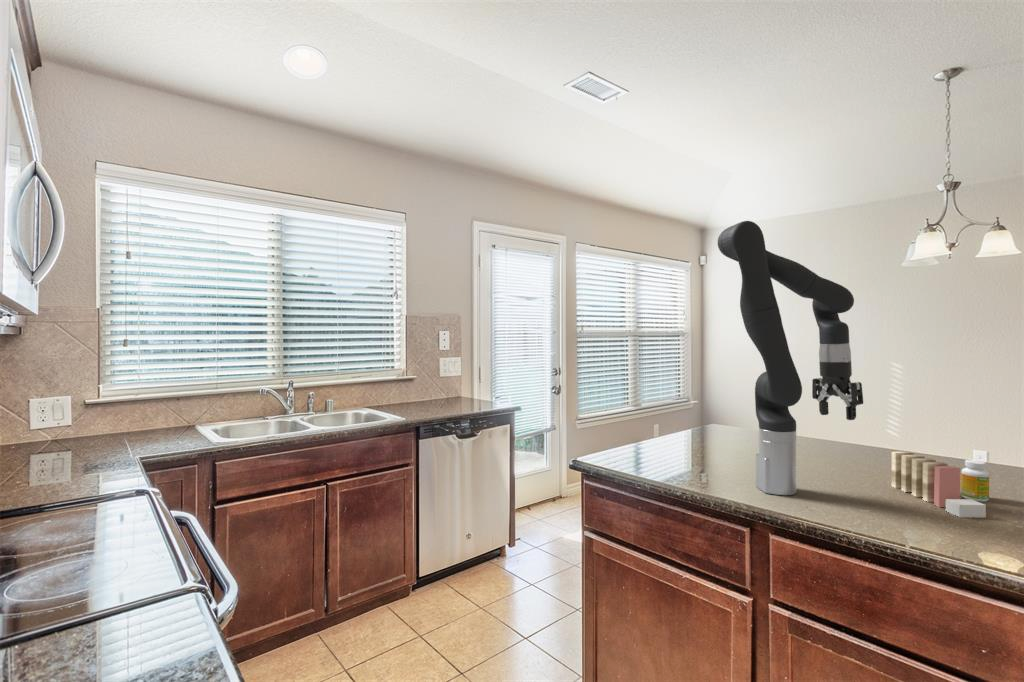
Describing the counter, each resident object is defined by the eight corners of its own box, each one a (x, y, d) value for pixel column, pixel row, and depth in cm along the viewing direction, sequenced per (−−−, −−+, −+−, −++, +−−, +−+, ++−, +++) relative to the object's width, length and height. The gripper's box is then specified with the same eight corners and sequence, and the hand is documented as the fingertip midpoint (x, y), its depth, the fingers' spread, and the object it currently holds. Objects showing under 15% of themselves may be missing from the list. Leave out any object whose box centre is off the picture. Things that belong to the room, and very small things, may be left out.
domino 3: (916, 497, 133) (916, 460, 133) (911, 495, 135) (911, 458, 135) (935, 497, 133) (935, 460, 133) (930, 495, 135) (931, 458, 134)
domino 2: (905, 492, 137) (905, 456, 137) (901, 490, 139) (901, 454, 138) (924, 492, 137) (924, 456, 137) (919, 491, 138) (920, 454, 138)
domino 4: (927, 502, 130) (927, 463, 129) (922, 500, 131) (922, 462, 131) (947, 502, 129) (947, 463, 129) (942, 500, 131) (942, 462, 131)
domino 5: (939, 507, 126) (939, 468, 125) (934, 505, 127) (934, 466, 127) (959, 507, 125) (960, 468, 125) (954, 505, 127) (955, 466, 127)
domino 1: (895, 488, 141) (895, 453, 141) (891, 486, 142) (891, 451, 142) (913, 488, 141) (914, 452, 140) (909, 486, 142) (909, 451, 142)
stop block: (959, 517, 119) (959, 504, 119) (945, 511, 123) (945, 499, 123) (985, 517, 119) (985, 505, 119) (971, 511, 123) (971, 499, 123)
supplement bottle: (979, 502, 129) (979, 465, 129) (955, 496, 134) (956, 460, 134) (994, 500, 130) (994, 463, 130) (970, 494, 135) (970, 458, 135)
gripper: (803, 359, 147) (805, 414, 147) (846, 362, 133) (849, 423, 133) (824, 357, 148) (826, 412, 149) (869, 360, 135) (871, 420, 135)
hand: (837, 417), depth 141 cm, fingers open, 8 cm apart
